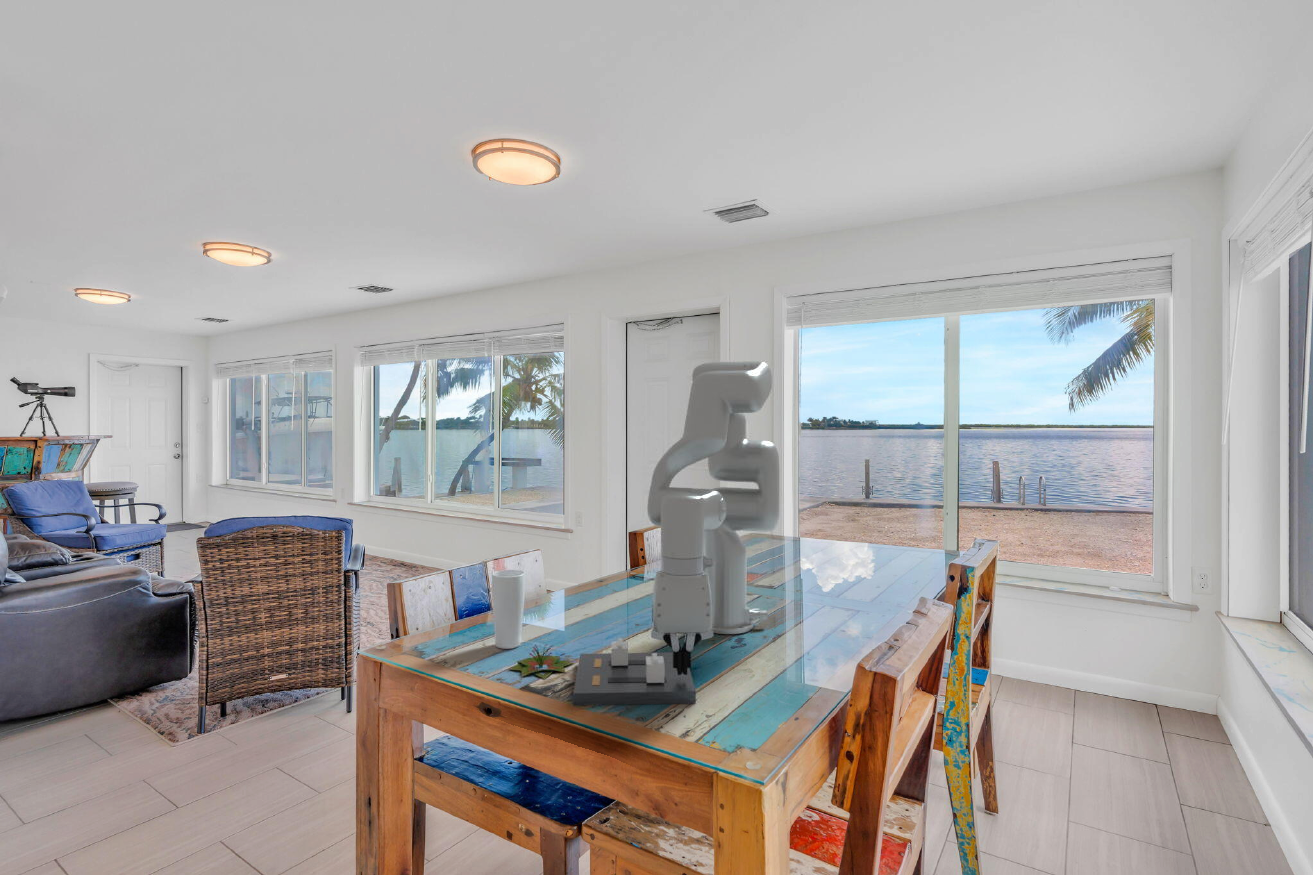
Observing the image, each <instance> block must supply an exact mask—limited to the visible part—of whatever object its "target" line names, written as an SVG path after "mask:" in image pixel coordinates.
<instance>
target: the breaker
mask: <svg viewBox="0 0 1313 875" xmlns="http://www.w3.org/2000/svg"><path fill="white" fill-rule="evenodd" d="M610 648H611V651H610V653H611V666H615V665H628V653H629V641H627V640H625V641H624V640H623V638H622V637H617V640H616V641H611V647H610Z"/></svg>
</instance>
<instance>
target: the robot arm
mask: <svg viewBox="0 0 1313 875" xmlns="http://www.w3.org/2000/svg"><path fill="white" fill-rule="evenodd" d="M691 377H692V378H691V379H692V384H691V388H690V393H689V398H688V404H687V410H686V416H685V421H684V429H683V434H682V437H681V438H680V439H679V440H678V441H677V442H674V444H673V445H672V446H671V447H669V449H668V450H667V451H666V452H665V453H664V454H663V455H662V457H661V458H660V459H659V461H658V462H657V464H656V465H655V468H654V470H653V472H652V475H651V476H652V477H651V482H650V487H649V492H648V497H647V508H646V509H647V515H648V519H649V521H650V522H651V524H653V526H656V527H658V528H660V570H659V571H656V572H655V576H654V582H653V590H652V591H653V592H652V605H651V607H652V608H651V620H652V626H651V631H650V637H651V639H654V640H657V641H663V642H665V643H666V644H667V645H668V646H669V648H671V649H672V653H673V668H676V669H677V673H678V675H681V674H682V672H683V674H684V675H687V668H689V669H691V668H692V651H693V650H694V648H695V647H696V646H697V645H698V643H700V642H701V641H702V640H708V639H711V638H713V637H714V634H720V635H737V634H744V633H747V632H750V631H751V630H752V629H753V627H754V620H756V619H759V620H768V611H767V610H765V609H762V610H760V608H750V607H749V606H748V605H747V589H748V588H747V579H748V578H747V576H748V574H747V570H748V568H747V566H748V564H747V563H748V562H747V561H748V556H747V555H748V551H747V547H746V545H745V543H744V541H743V539H742V537H741V536H740V535H739V534H738V533H737V531H738V532H739V531H740V532H741V531H744V532H765V533H766V532H772V531H773V530H775V529H776V528H777V526H778V524H779V519H780V455H779V451H778V448H777V447H776V445H775V444H774V443H773V442H771V441H769V440H764V439H763V440H762V439H761V440H760V439H758V440H756V439H747V437H746V436H747V435H746V433H747V432H746V430H747V429H746V428H747V426H746V425H747V424H746V423H747V422H746V421H747V420H746V416H745V414H752V413H753V414H754V413H756V412H759V411H760V410H761V409H762V408H763V406H764V405H765V404H766V402H767V400H768V398H769V397H770V394H771V390H772V387H773V375H772V370H771V368H770V366H769V365H768V363H766V362H764V361H758V360H757V361H751V360H750V361H716V362H714V361H713V362H706V363H701V364H699V365H697V366H695V368H693V370H692V376H691ZM705 459H707V463H708V464H707V465H708V471H709V475H710V476H711V478H712V479H714V480H716V481H719V482H727V483H729V482H730V483H754V484H756V485H757V486H758V488H748V487H747V488H744V487H743V488H742V487H714V488H693V487H675V486H674V487H673V486H672V487H671V484H672V481H673V480H674V478H675V477H676V476H677V475H678V474H679V473H680V472H682V470H683V469H686V468H687V467H689V466H691V465H694V464H696V463H699V462H700V461H703V460H705ZM678 634H679V635H680V634H681V635H682V634H684V635H685V636H684V643H683V644H682V646H681V643H680V641H679V636H678Z"/></svg>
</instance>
